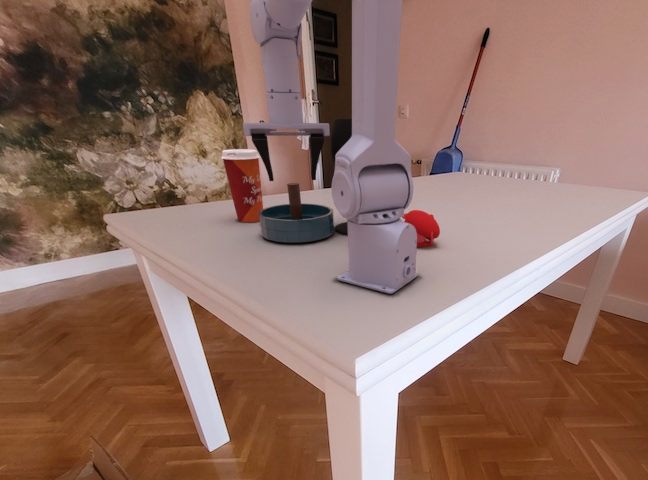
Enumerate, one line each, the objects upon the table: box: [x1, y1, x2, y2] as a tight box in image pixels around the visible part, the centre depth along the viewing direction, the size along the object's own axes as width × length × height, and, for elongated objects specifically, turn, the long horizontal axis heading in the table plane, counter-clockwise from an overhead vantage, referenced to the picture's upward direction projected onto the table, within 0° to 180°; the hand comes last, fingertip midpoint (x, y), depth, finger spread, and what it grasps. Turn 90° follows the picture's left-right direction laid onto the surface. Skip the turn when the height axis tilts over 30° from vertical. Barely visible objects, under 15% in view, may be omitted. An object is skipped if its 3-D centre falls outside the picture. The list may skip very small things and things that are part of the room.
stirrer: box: [286, 182, 303, 220], centre depth 73 cm, size 4×4×9 cm
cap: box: [401, 209, 441, 248], centre depth 70 cm, size 8×6×6 cm
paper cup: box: [220, 148, 264, 223], centre depth 82 cm, size 8×8×14 cm
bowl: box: [258, 202, 335, 244], centre depth 75 cm, size 14×14×4 cm
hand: (292, 179), depth 71 cm, fingers open, 7 cm apart
